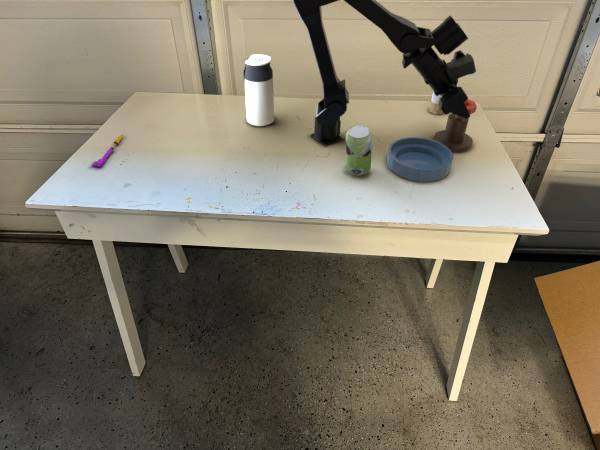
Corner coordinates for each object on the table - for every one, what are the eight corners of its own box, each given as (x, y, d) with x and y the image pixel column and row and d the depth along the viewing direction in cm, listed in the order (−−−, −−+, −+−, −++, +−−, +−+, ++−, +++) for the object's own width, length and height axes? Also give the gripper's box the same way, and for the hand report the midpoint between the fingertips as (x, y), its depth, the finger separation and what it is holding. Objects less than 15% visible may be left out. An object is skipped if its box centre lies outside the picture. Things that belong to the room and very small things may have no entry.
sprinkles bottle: (435, 107, 139) (444, 63, 130) (447, 112, 136) (457, 68, 127) (425, 111, 136) (434, 67, 128) (437, 116, 134) (447, 72, 125)
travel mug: (249, 128, 127) (244, 65, 116) (245, 116, 133) (240, 55, 122) (276, 125, 129) (274, 62, 117) (271, 113, 135) (269, 52, 123)
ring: (449, 114, 113) (451, 108, 112) (445, 102, 118) (446, 97, 117) (477, 115, 112) (478, 109, 111) (471, 103, 117) (472, 98, 116)
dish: (417, 190, 104) (420, 176, 102) (373, 160, 114) (375, 147, 112) (463, 170, 111) (466, 157, 108) (417, 144, 121) (420, 131, 118)
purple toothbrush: (101, 167, 110) (125, 137, 123) (99, 163, 110) (123, 133, 122) (92, 169, 111) (116, 138, 123) (89, 165, 110) (114, 135, 122)
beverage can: (373, 167, 112) (378, 124, 104) (363, 183, 106) (369, 138, 99) (349, 162, 114) (353, 118, 106) (339, 176, 108) (342, 132, 101)
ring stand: (453, 156, 116) (463, 119, 109) (425, 140, 122) (433, 104, 116) (479, 145, 120) (490, 109, 114) (450, 131, 127) (459, 95, 120)
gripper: (468, 58, 98) (504, 107, 104) (452, 32, 112) (485, 76, 118) (425, 91, 103) (462, 136, 110) (415, 62, 117) (448, 103, 124)
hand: (465, 111), depth 115 cm, fingers closed on ring, 7 cm apart
